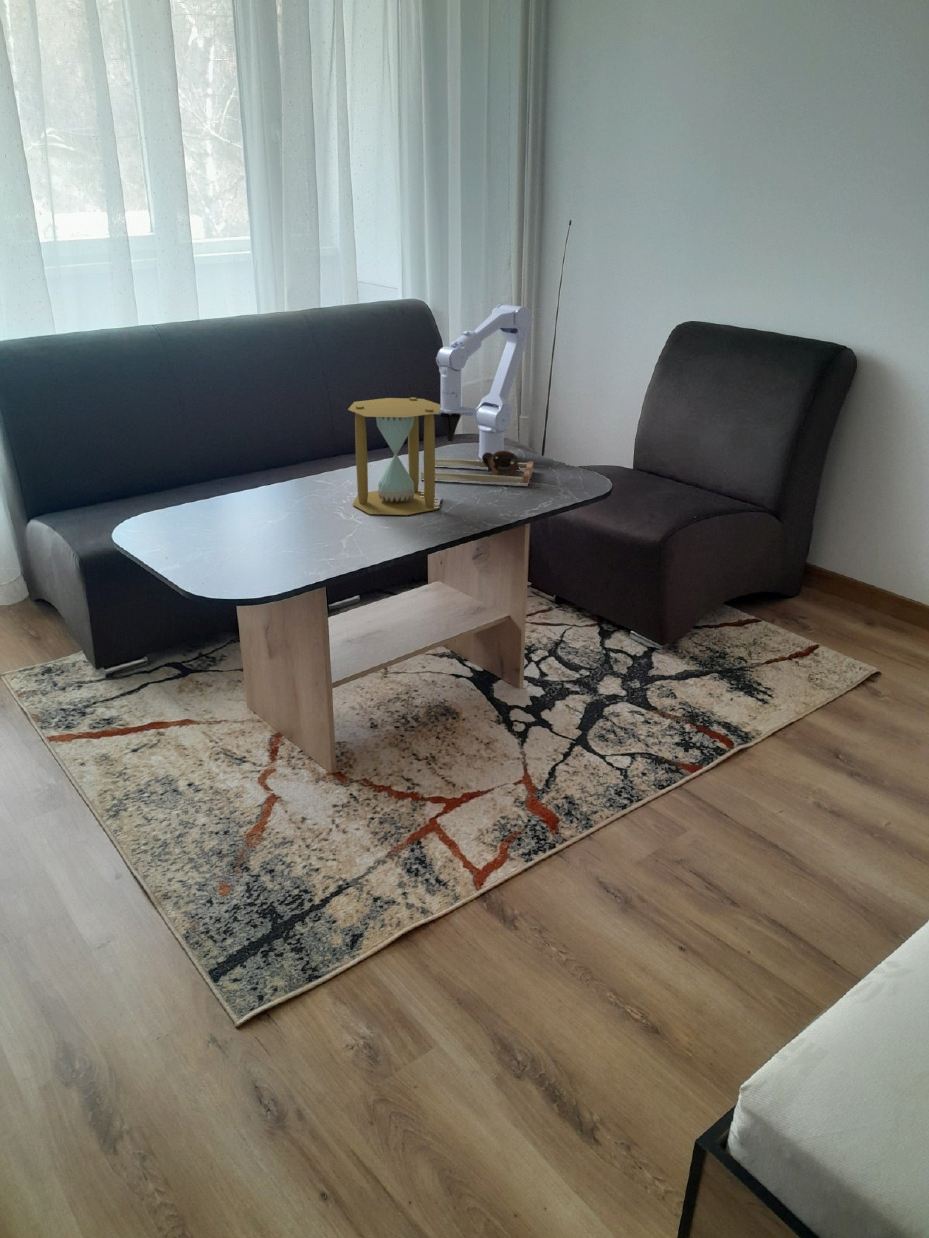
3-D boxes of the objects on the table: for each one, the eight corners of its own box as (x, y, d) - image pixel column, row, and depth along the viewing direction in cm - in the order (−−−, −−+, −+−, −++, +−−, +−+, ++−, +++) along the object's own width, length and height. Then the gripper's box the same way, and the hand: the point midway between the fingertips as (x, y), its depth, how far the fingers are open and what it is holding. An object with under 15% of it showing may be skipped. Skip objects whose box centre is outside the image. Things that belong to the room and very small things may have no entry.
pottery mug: (525, 475, 266) (526, 455, 259) (508, 496, 261) (508, 476, 255) (489, 459, 270) (489, 438, 263) (471, 479, 265) (471, 459, 258)
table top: (431, 466, 271) (431, 456, 270) (533, 472, 267) (533, 461, 266) (420, 481, 258) (420, 470, 256) (527, 487, 254) (528, 476, 252)
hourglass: (432, 487, 253) (432, 393, 242) (453, 513, 233) (453, 412, 223) (345, 493, 247) (340, 397, 237) (358, 520, 227) (354, 417, 217)
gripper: (422, 393, 257) (422, 442, 262) (474, 396, 255) (473, 445, 260) (427, 388, 263) (427, 436, 269) (478, 390, 261) (477, 439, 267)
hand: (450, 440), depth 265 cm, fingers closed
